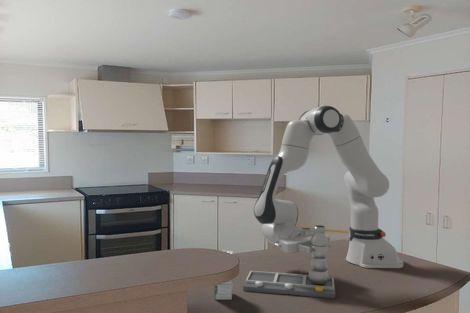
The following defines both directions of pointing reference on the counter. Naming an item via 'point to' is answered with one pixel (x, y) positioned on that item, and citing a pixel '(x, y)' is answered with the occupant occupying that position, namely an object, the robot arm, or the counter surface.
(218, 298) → the syrup box
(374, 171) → the robot arm
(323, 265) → the plastic bottle
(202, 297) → the counter surface
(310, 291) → the board
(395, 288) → the counter surface
